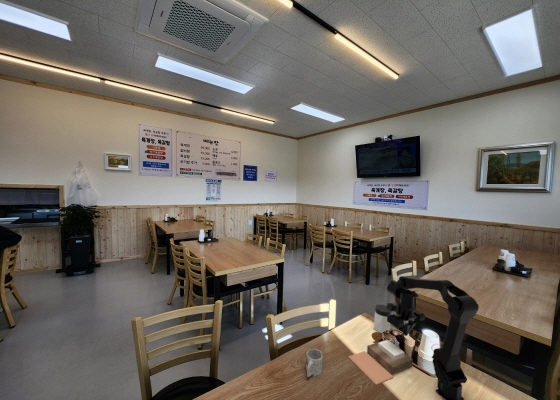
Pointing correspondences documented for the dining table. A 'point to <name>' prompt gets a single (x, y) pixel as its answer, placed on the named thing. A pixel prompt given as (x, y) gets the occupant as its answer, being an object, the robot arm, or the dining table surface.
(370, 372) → the mat
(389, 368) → the brown rectangular block
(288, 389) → the dining table surface
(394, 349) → the grey flat block
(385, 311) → the jar
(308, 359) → the mug
